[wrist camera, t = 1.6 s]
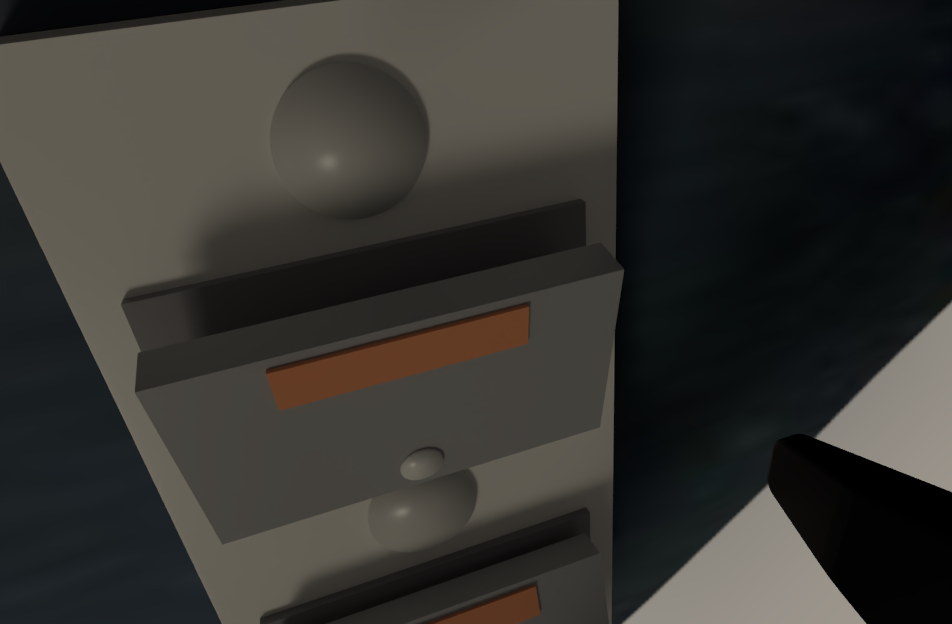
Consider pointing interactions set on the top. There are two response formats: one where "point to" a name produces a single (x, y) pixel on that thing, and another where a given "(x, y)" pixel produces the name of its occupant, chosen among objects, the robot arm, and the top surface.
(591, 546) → the dark grey rectangular block
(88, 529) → the top surface
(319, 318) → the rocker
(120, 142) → the double rocker switch panel
